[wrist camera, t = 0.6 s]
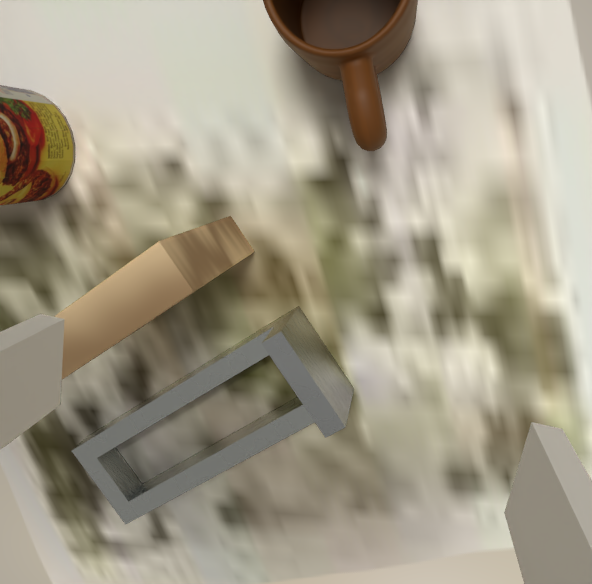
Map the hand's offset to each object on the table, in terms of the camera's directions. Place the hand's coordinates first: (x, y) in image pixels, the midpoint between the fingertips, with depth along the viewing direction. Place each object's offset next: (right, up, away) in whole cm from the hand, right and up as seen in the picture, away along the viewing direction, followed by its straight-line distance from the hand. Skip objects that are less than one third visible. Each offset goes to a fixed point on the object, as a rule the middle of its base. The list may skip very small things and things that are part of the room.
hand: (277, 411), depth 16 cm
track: (-6, -6, +28) cm, 29 cm away
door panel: (-7, +5, +25) cm, 27 cm away
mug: (+5, +18, +20) cm, 27 cm away
